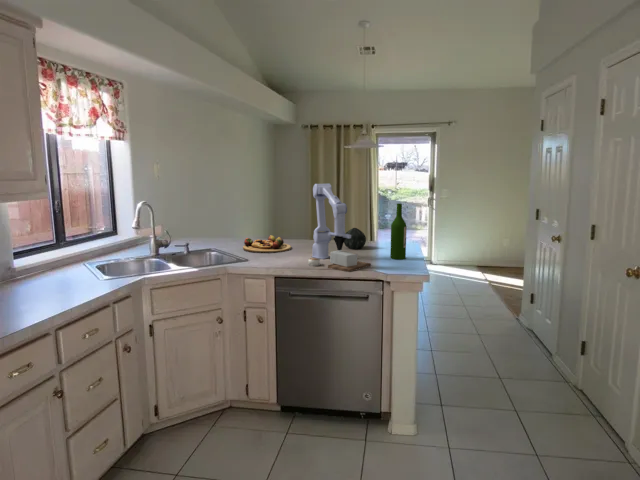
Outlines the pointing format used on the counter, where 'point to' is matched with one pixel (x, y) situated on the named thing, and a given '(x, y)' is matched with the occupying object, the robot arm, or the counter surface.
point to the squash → (355, 239)
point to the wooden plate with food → (266, 245)
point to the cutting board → (351, 268)
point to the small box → (343, 258)
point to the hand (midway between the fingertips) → (339, 250)
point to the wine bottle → (398, 236)
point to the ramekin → (313, 261)
